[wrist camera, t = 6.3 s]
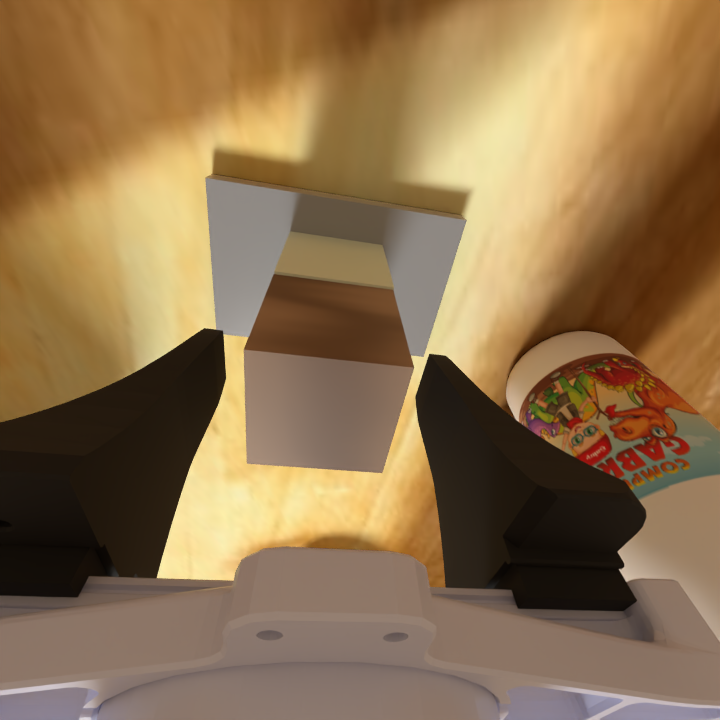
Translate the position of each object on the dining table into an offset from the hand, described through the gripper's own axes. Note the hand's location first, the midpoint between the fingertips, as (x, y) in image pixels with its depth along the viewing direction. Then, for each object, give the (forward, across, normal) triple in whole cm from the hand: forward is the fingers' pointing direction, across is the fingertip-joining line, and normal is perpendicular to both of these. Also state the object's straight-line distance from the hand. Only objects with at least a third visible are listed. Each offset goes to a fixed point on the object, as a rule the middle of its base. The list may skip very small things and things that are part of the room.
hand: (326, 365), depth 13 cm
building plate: (+8, 0, 0) cm, 8 cm away
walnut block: (+2, 0, 0) cm, 2 cm away
